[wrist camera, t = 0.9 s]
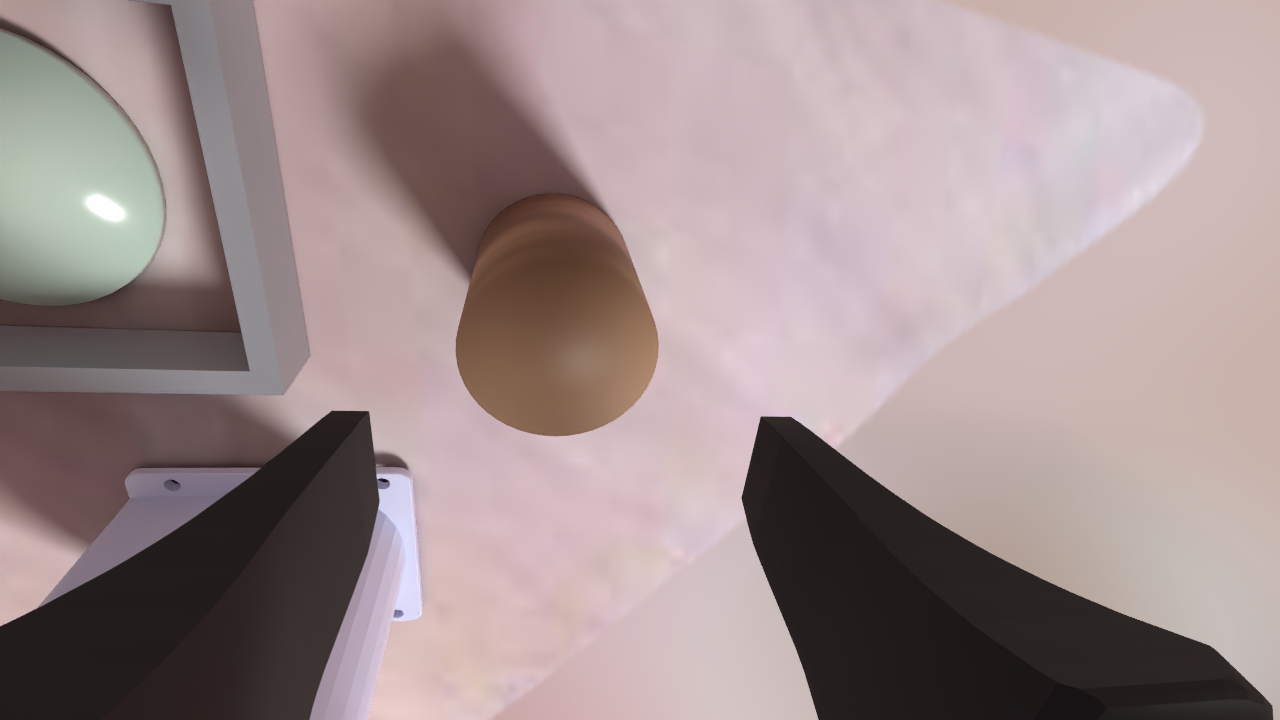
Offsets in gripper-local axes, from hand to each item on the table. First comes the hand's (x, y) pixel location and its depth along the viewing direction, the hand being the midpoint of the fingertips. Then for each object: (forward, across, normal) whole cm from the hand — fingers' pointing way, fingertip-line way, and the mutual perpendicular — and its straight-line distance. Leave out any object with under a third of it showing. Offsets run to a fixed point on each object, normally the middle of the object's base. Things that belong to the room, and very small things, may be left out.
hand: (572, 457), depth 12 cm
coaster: (+10, +15, -2) cm, 18 cm away
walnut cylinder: (+10, 0, 0) cm, 10 cm away
